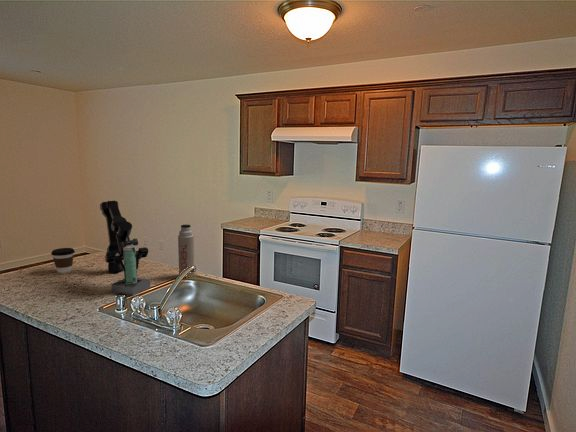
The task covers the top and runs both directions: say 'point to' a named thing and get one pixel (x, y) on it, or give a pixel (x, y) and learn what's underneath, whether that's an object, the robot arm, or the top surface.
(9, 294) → the top surface
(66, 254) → the coffee cup
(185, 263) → the thermos bottle
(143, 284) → the collar
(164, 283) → the top surface
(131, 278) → the spray can
